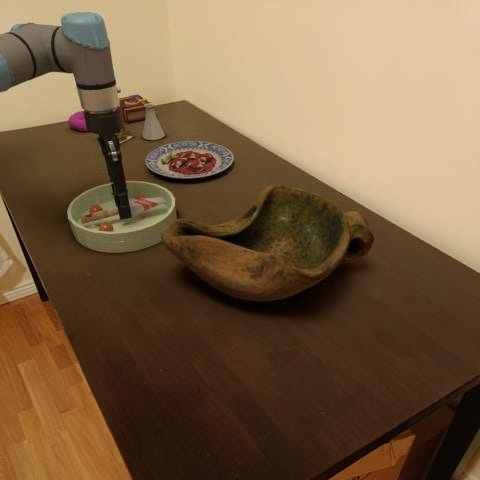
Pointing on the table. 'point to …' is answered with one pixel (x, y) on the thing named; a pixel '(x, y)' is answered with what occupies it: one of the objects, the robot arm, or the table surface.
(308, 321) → the table surface
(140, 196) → the bead
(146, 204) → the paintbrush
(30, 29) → the robot arm
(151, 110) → the flask
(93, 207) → the bead
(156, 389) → the table surface
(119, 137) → the condiment
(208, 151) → the ceramic plate
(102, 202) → the bowl
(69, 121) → the donut
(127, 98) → the decorative book
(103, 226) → the bead
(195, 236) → the bowl
